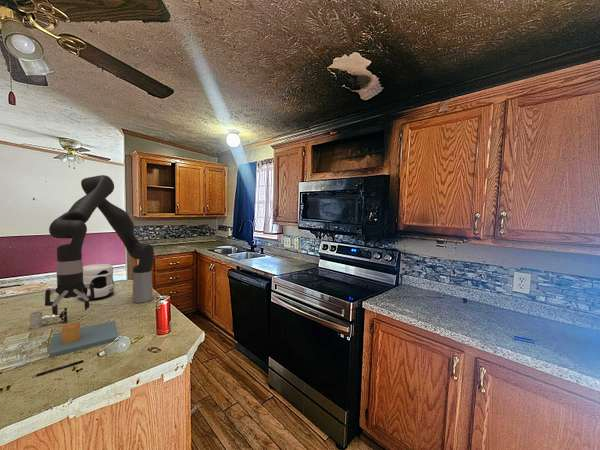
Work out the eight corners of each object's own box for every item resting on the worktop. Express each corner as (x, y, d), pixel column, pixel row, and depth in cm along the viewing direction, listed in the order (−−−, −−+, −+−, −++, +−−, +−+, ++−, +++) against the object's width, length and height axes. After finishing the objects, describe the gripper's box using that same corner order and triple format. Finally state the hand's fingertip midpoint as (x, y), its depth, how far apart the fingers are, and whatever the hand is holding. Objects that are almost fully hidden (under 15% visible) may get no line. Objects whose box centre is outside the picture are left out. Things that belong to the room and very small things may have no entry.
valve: (28, 331, 107) (67, 323, 115) (28, 316, 106) (66, 309, 114) (30, 326, 111) (67, 318, 120) (30, 311, 111) (67, 305, 119)
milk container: (76, 295, 149) (76, 265, 148) (112, 289, 161) (112, 262, 160) (77, 304, 137) (77, 271, 136) (116, 297, 148) (116, 267, 147)
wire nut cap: (80, 334, 102) (79, 320, 102) (79, 340, 99) (79, 325, 98) (62, 338, 99) (62, 324, 99) (61, 344, 95) (61, 329, 95)
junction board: (114, 323, 116) (114, 320, 116) (118, 340, 102) (118, 336, 102) (54, 337, 103) (53, 333, 103) (49, 357, 89) (49, 353, 89)
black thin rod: (32, 379, 79) (32, 376, 79) (32, 377, 79) (32, 374, 79) (83, 363, 87) (83, 360, 87) (83, 362, 88) (83, 359, 88)
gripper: (93, 267, 105) (94, 305, 106) (45, 272, 95) (46, 313, 96) (94, 271, 99) (95, 310, 100) (42, 276, 90) (44, 320, 91)
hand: (71, 312), depth 98 cm, fingers open, 8 cm apart
